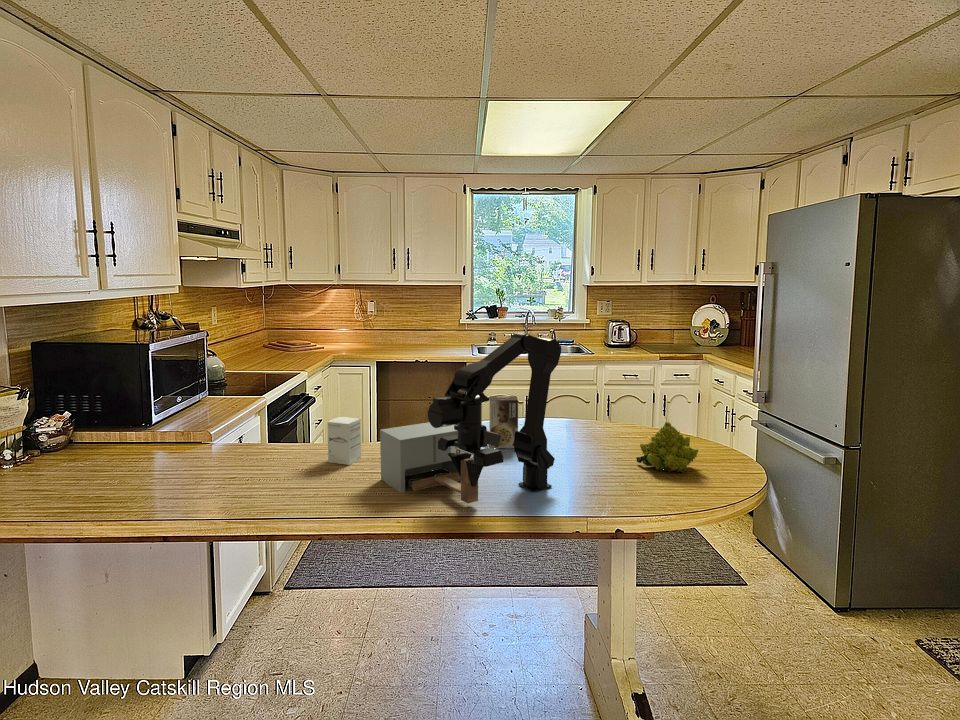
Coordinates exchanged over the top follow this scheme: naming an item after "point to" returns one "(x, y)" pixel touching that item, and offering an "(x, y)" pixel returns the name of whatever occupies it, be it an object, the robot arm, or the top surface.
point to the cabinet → (413, 452)
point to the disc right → (440, 474)
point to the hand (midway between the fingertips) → (469, 484)
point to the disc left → (413, 480)
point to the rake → (452, 483)
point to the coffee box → (504, 419)
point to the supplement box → (344, 440)
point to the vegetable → (668, 450)
